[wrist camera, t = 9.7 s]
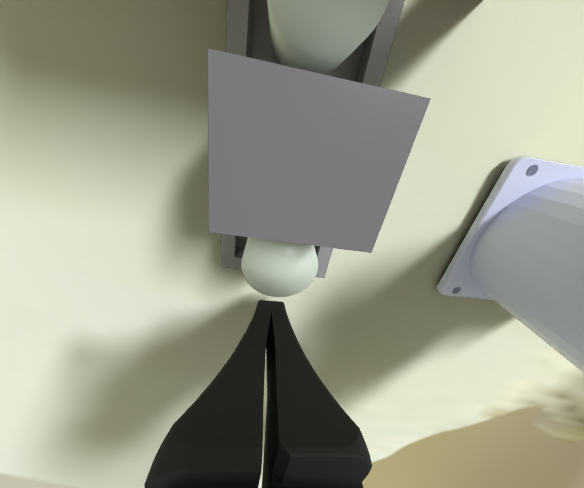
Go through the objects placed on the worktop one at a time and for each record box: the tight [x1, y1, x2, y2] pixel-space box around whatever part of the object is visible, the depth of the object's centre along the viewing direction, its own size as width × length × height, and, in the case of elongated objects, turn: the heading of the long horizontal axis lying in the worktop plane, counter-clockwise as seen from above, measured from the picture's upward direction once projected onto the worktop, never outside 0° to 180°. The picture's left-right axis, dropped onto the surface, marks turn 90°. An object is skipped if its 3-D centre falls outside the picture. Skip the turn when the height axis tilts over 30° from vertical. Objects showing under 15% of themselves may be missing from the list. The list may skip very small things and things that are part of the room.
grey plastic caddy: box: [208, 0, 430, 297], centre depth 7 cm, size 5×11×6 cm, turn 170°
